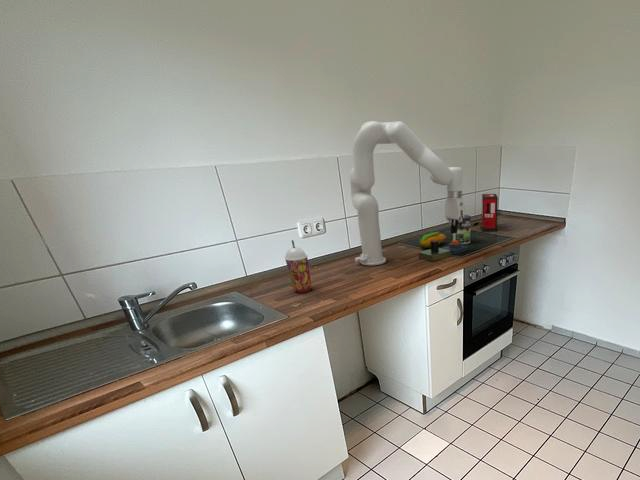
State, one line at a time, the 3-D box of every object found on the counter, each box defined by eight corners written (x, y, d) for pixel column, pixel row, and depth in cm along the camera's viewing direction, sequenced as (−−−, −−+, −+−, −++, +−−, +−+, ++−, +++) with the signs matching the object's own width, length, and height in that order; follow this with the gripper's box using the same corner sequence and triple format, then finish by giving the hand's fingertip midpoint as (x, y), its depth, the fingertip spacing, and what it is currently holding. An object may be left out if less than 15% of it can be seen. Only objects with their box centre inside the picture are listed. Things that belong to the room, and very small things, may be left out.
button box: (454, 254, 198) (454, 247, 196) (442, 251, 204) (441, 244, 202) (468, 250, 205) (468, 243, 203) (456, 247, 210) (456, 240, 208)
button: (455, 245, 200) (455, 242, 199) (450, 244, 202) (450, 241, 202) (460, 244, 202) (460, 240, 202) (455, 243, 205) (455, 239, 204)
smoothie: (289, 290, 157) (277, 240, 147) (308, 285, 162) (297, 236, 152) (298, 295, 152) (286, 244, 142) (317, 289, 157) (307, 240, 147)
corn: (415, 234, 206) (440, 227, 219) (415, 248, 210) (439, 241, 223) (425, 237, 202) (450, 230, 215) (425, 251, 206) (449, 244, 219)
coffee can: (474, 242, 221) (474, 216, 213) (460, 245, 215) (460, 218, 208) (462, 239, 228) (462, 214, 220) (449, 242, 222) (448, 216, 215)
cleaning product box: (496, 231, 244) (497, 197, 234) (482, 231, 244) (483, 197, 234) (494, 225, 258) (496, 193, 248) (481, 226, 258) (482, 194, 248)
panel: (432, 261, 188) (432, 255, 187) (418, 258, 194) (418, 251, 193) (450, 256, 196) (450, 250, 194) (437, 252, 202) (437, 246, 201)
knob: (440, 251, 194) (440, 240, 191) (434, 252, 191) (434, 241, 188) (434, 249, 196) (434, 239, 193) (429, 251, 194) (428, 240, 191)
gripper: (470, 195, 188) (469, 234, 197) (448, 192, 197) (448, 229, 206) (460, 196, 183) (459, 236, 192) (438, 194, 192) (438, 231, 201)
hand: (454, 232), depth 199 cm, fingers closed
